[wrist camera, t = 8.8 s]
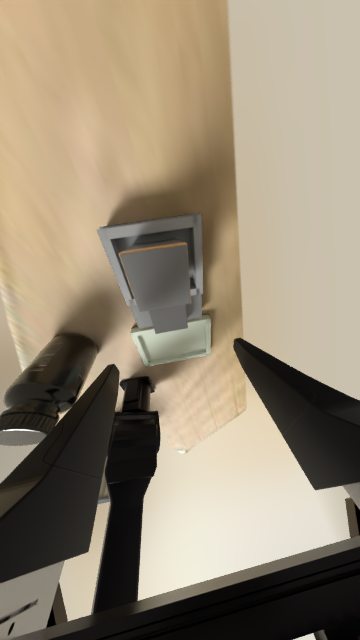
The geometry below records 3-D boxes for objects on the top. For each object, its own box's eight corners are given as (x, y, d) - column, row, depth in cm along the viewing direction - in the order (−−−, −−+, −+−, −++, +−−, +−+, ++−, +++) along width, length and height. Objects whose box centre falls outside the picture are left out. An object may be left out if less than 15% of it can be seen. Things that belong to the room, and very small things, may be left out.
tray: (208, 349, 28) (210, 354, 27) (146, 361, 27) (145, 367, 26) (208, 314, 22) (211, 318, 21) (131, 328, 22) (130, 333, 21)
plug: (181, 280, 16) (191, 303, 12) (144, 286, 16) (138, 312, 11) (176, 237, 14) (187, 243, 9) (132, 244, 14) (118, 253, 9)
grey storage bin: (198, 310, 22) (205, 325, 18) (140, 320, 21) (137, 337, 18) (194, 214, 14) (205, 211, 11) (105, 227, 14) (90, 227, 11)
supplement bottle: (55, 358, 23) (-18, 452, 14) (48, 328, 20) (-56, 426, 10) (98, 362, 25) (62, 446, 16) (99, 335, 22) (54, 423, 12)
